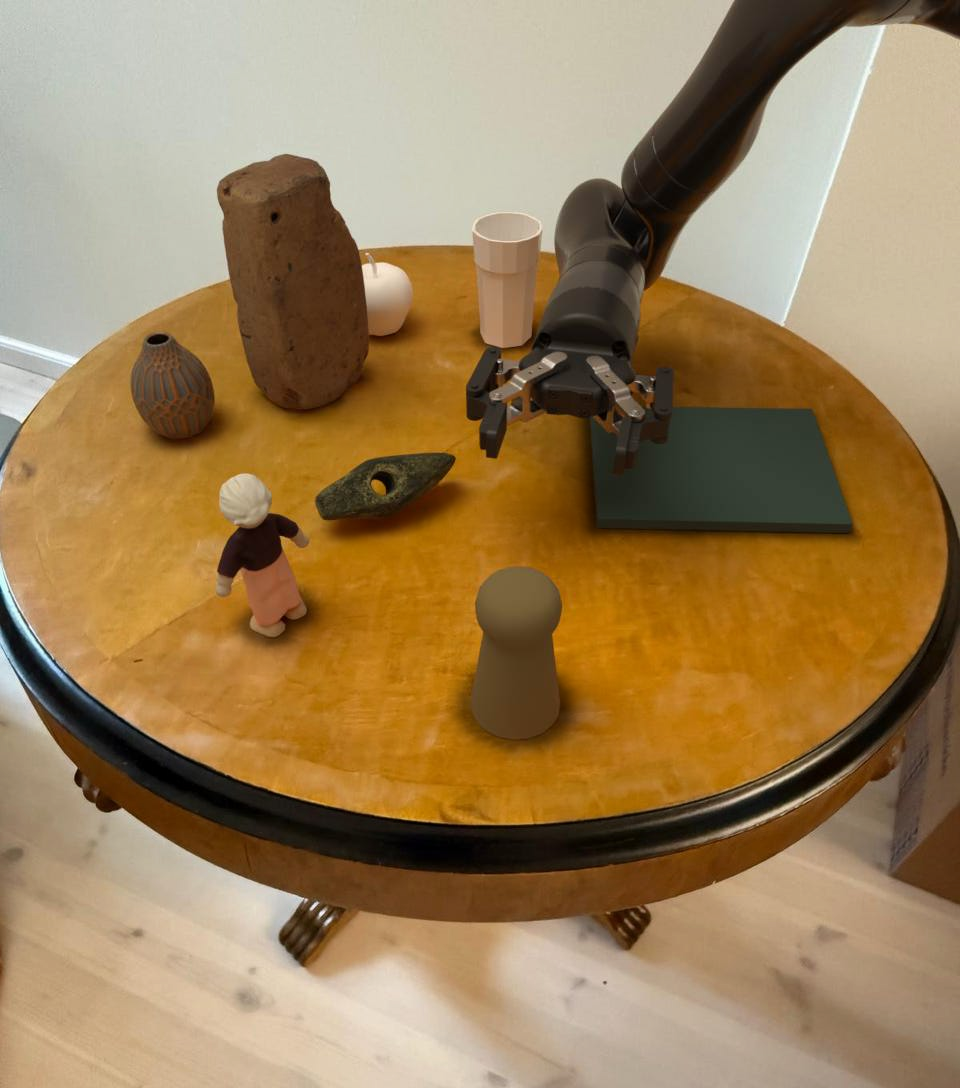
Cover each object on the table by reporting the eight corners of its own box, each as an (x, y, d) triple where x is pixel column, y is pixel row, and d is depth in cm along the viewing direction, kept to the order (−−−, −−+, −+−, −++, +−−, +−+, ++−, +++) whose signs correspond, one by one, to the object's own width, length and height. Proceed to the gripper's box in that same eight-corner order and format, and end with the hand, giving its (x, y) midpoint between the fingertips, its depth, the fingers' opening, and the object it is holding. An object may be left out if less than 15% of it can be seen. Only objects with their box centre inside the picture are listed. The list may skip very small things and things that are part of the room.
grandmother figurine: (285, 579, 71) (254, 440, 61) (326, 596, 69) (301, 457, 60) (219, 644, 66) (174, 505, 57) (261, 664, 65) (222, 525, 55)
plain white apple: (335, 321, 97) (325, 245, 91) (397, 305, 99) (391, 230, 93) (362, 352, 93) (353, 275, 87) (426, 334, 95) (421, 258, 89)
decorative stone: (391, 563, 72) (386, 513, 68) (311, 532, 74) (302, 482, 71) (462, 484, 78) (460, 435, 75) (386, 459, 81) (381, 409, 77)
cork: (467, 738, 60) (464, 621, 52) (472, 668, 64) (470, 549, 56) (560, 741, 60) (571, 624, 52) (559, 670, 64) (570, 552, 56)
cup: (460, 331, 95) (457, 224, 87) (511, 312, 98) (513, 206, 90) (499, 358, 92) (500, 249, 84) (551, 337, 94) (557, 229, 86)
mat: (809, 417, 84) (812, 408, 84) (849, 533, 74) (853, 523, 73) (589, 414, 85) (590, 404, 84) (597, 528, 74) (598, 518, 74)
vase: (210, 397, 88) (187, 310, 81) (230, 436, 83) (209, 347, 77) (136, 416, 85) (107, 329, 79) (154, 457, 81) (125, 368, 75)
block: (290, 425, 84) (248, 199, 70) (245, 391, 88) (196, 171, 73) (384, 380, 89) (363, 161, 75) (337, 350, 93) (309, 136, 78)
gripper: (498, 275, 70) (447, 394, 59) (689, 294, 68) (672, 421, 57) (497, 364, 75) (450, 487, 65) (674, 384, 73) (655, 515, 63)
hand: (554, 456), depth 61 cm, fingers open, 8 cm apart
